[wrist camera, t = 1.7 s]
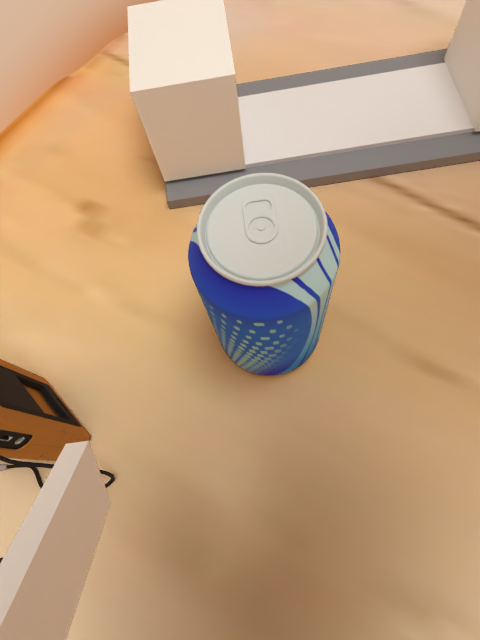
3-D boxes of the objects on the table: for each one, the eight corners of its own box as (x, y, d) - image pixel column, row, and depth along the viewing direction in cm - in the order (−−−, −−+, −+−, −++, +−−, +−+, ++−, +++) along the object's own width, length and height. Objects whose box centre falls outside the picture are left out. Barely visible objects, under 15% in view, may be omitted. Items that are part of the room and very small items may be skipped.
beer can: (336, 316, 35) (377, 198, 20) (285, 398, 33) (290, 334, 18) (254, 271, 38) (237, 136, 23) (201, 346, 35) (145, 251, 21)
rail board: (506, 48, 45) (579, -90, 34) (558, 147, 39) (665, 21, 29) (163, 106, 46) (127, -9, 35) (170, 209, 41) (130, 111, 30)
